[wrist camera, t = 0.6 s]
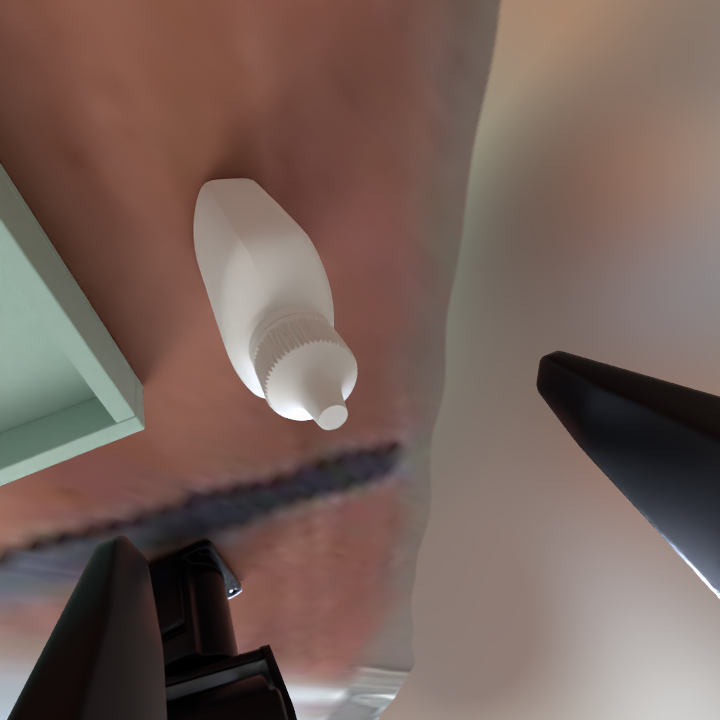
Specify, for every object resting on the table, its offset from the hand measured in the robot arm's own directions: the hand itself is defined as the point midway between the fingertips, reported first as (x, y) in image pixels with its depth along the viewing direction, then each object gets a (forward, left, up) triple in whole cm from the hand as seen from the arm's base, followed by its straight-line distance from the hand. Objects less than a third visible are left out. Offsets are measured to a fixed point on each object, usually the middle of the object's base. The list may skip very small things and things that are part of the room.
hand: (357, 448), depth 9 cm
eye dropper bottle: (0, 0, -13) cm, 13 cm away
